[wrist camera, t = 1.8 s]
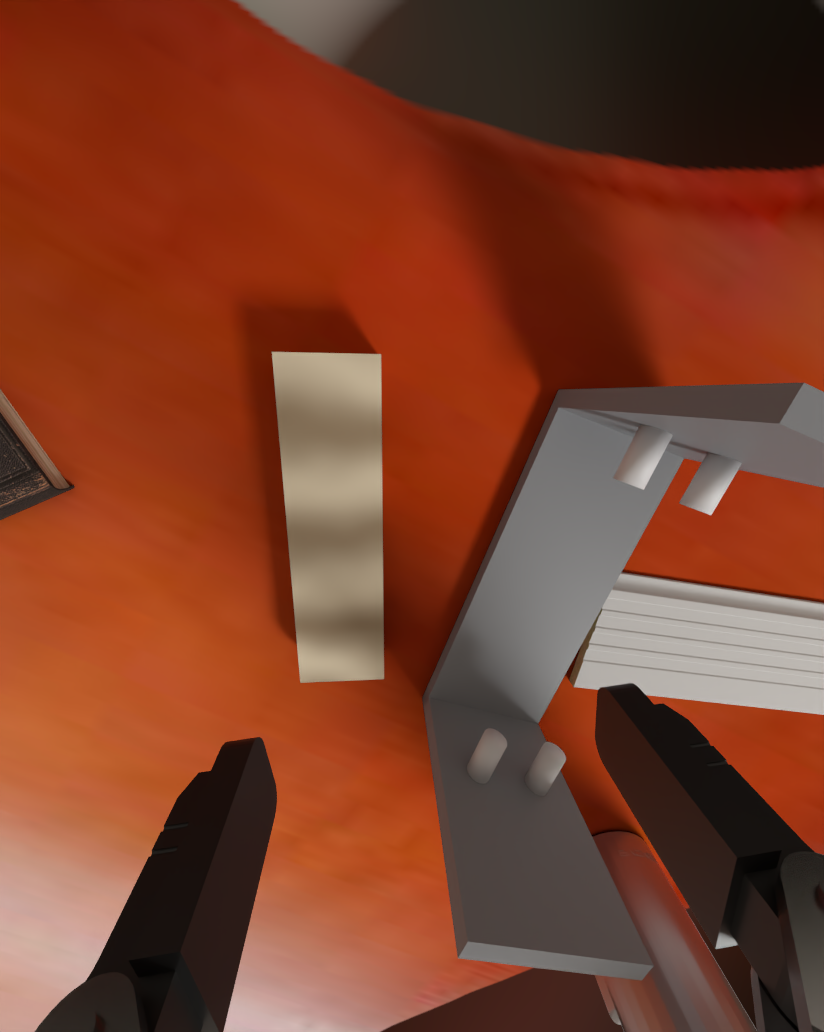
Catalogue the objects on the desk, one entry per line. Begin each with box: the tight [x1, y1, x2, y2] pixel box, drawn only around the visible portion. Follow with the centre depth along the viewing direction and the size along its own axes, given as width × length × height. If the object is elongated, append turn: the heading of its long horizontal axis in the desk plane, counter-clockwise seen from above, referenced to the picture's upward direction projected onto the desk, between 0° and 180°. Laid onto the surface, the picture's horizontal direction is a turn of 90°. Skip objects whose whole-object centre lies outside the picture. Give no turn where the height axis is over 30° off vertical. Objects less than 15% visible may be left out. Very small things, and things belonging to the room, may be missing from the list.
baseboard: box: [569, 572, 824, 715], centre depth 33 cm, size 31×3×12 cm
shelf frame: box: [422, 383, 824, 981], centre depth 23 cm, size 26×10×16 cm, turn 160°
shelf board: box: [272, 352, 384, 683], centre depth 27 cm, size 22×6×4 cm, turn 179°
